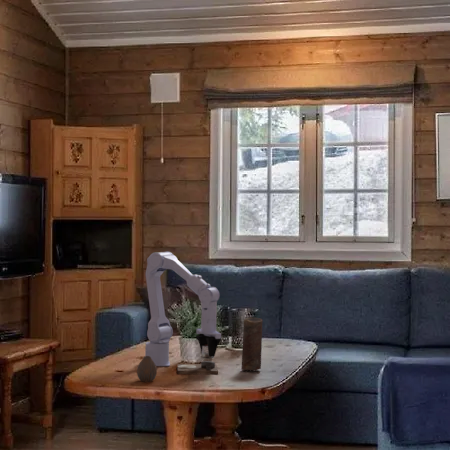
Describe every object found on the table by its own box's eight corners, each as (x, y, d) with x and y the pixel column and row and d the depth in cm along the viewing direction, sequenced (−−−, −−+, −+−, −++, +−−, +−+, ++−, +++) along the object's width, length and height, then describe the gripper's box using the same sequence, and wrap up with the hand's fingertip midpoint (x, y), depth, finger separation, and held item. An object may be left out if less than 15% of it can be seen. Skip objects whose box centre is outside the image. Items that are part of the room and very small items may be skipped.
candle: (263, 370, 346) (264, 317, 345) (258, 373, 339) (259, 320, 338) (244, 368, 348) (245, 316, 348) (238, 371, 341) (239, 318, 341)
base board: (177, 373, 335) (177, 365, 335) (177, 367, 349) (177, 358, 349) (218, 374, 336) (218, 365, 336) (216, 367, 350) (216, 359, 350)
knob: (199, 357, 343) (199, 344, 343) (209, 356, 346) (210, 343, 345) (206, 358, 339) (206, 346, 339) (216, 357, 342) (216, 345, 342)
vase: (137, 379, 323) (137, 354, 323) (156, 379, 324) (156, 354, 324) (136, 383, 316) (137, 358, 316) (156, 383, 317) (157, 358, 317)
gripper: (189, 317, 346) (189, 353, 346) (210, 322, 334) (209, 359, 334) (205, 316, 350) (204, 351, 350) (226, 321, 338) (225, 357, 338)
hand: (208, 355), depth 342 cm, fingers closed on knob, 5 cm apart
